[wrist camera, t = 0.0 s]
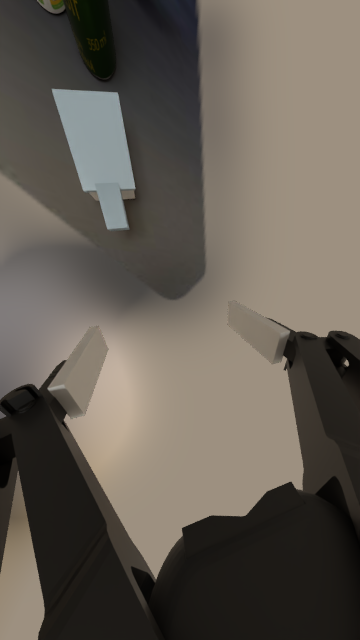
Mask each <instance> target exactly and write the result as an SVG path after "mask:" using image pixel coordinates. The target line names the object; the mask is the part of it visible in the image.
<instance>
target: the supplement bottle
mask: <svg viewBox="0 0 360 640" xmlns="http://www.w3.org/2000/svg"><path fill="white" fill-rule="evenodd" d="M37 1H38V2H39V4H40V5H41V6H42V7H43V8H45V9H46V10H47V11H49V12H51V13H55V14H58V13H61V12H63V11H64V9H65V6H64V3H63V0H37Z"/></svg>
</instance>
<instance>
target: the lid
mask: <svg viewBox="0 0 360 640" xmlns="http://www.w3.org/2000/svg"><path fill="white" fill-rule="evenodd" d="M52 92H53V95H54V99H55V102H56V105H57V108H58V111H59V114H60V118H61V121H62V124H63V127H64V130H65V134H66V137H67V140H68V143H69V146H70V150H71V153H72V156H73V159H74V162H75V165H76V169H77V172H78V175H79V178H80V181H81V185H82V188H83V191H84V192H85V193H86V192H97V194H98V197H99V201H100V205H101V208H102V212H103V215H104V219H105V222H106V226H107V229H108V230H110V231H120V230H130V229H129V224H128V220H127V215H126V211H125V206H124V202H123V197H122V193H121V191H129V190H136V189H135V184H134V178H133V173H132V167H131V162H130V156H129V151H128V146H127V140H126V135H125V129H124V124H123V119H122V113H121V108H120V102H119V97H118V93H116V92H98V91H80V90H62V89H52Z"/></svg>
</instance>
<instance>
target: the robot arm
mask: <svg viewBox="0 0 360 640" xmlns="http://www.w3.org/2000/svg"><path fill="white" fill-rule="evenodd" d="M227 324H228V325H229V326H230V327H231V328H232V329H233V330H234V331H236V333H238V334H239V335H240V336H241V337H242V338H243V339H244V340H245V341H247V342H248V343H249V344H250V345H251V346H252V347H253V348H255V349H256V350H257V351H258V352H259V353H260V354H261V355H263V356H264V357H265V358H266V359H267V360H268V361H269V362H270V363H271V364H275V363H279V362H281V361H282V357H283V356H285V357H286V358H287V361H286V364H285V367H284V370H286V369H287V370H288V377H289V382H290V388H291V394H292V400H293V405H294V412H295V418H296V424H297V430H298V435H299V442H300V447H301V454H302V459H303V467H304V473H303V491H302V490H298V489H296V488H295V487H294V485H293V484H292V482H289V483H286V484H284V485H282V486H279V487H277V488H275V489H272V490H270V491H268V492H266V493H265V494H264V496H263V497H262V498H261V499H260V500H259V501H258V502H257V504H256V505H255V506H254V507H253V508H252V510H251V511H250V512H249V513H248V514H247V515H246V516H242V517H240V516H209V517H207V518H204V519H202V520H200V521H197V522H195V523H193V524H190V525H188V526H186V527H183V528H182V532H183V536H182V537H181V538H180V539H179V540H178V541H177V542H176V544H175V545H174V547H173V548H172V549H171V551H170V552H169V554H168V556H167V558H166V560H165V561H164V563H163V565H162V567H161V570H160V572H159V574H158V577H157V579H155V577H154V575H153V574H152V572H151V570H150V569H149V567H148V565H147V563H146V561H145V560H144V558H143V557H142V555H141V553H140V552H139V550H138V549H137V548H136V546H135V545H134V543H133V542H132V540H131V539H130V537H129V536H128V534H127V532H126V530H125V528H124V526H123V525H122V523H121V521H120V519H119V517H118V516H117V514H116V512H115V510H114V509H113V507H112V505H111V503H110V501H109V500H108V498H107V496H106V494H105V492H104V491H103V489H102V487H101V485H100V484H99V482H98V480H97V478H96V476H95V475H94V473H93V471H92V469H91V467H90V466H89V464H88V462H87V460H86V458H85V457H84V455H83V453H82V451H81V449H80V448H79V446H78V444H77V442H76V441H75V439H74V437H73V435H72V433H71V432H70V430H69V428H68V426H67V425H66V423H65V422H64V418H65V416H66V414H68V415H69V417H70V418H71V419H73V418H77V417H80V416H84V415H85V413H86V411H87V407H88V405H89V402H90V399H91V397H92V394H93V391H94V388H95V385H96V383H97V380H98V377H99V374H100V371H101V368H102V366H103V363H104V360H105V357H106V354H107V351H108V347H107V345H106V342H105V340H104V337H103V335H102V333H101V330H100V328H99V326H95V327H90V328H89V329H88V331H87V332H86V334H85V335H84V337H83V338H82V340H81V341H80V342H79V344H78V345H77V346H76V348H75V349H74V351H73V352H72V354H71V355H70V356H69V358H68V359H67V360H64V361H62V362H61V363H60V364H59V365H58V366H56V368H55V369H54V370H53V372H52V373H51V374H50V376H49V377H48V379H47V380H46V381H45V382H44V384H43V385H42V386H41V388H40V389H39V390H38V389H37V388H36V387H35V386H34V385H33V384H27V385H24V386H21V387H18V388H16V389H14V390H13V391H11V392H10V393H8V394H7V395H5V396H4V397H3V398H2V399H1V400H0V411H1V412H2V413H4V414H5V415H6V417H4V418H2V419H0V572H1V566H2V560H3V554H4V548H5V543H6V537H7V531H8V525H9V519H10V513H11V507H12V501H13V496H14V490H15V483H16V478H17V472H18V470H19V475H20V481H21V486H22V491H23V496H24V501H25V506H26V511H27V517H28V522H29V527H30V532H31V537H32V543H33V548H34V553H35V558H36V562H37V568H38V573H39V579H40V584H41V589H42V594H43V599H44V607H45V615H44V620H43V623H42V625H41V628H40V631H39V636H38V640H360V340H359V339H358V338H357V337H355V336H353V335H351V334H348V333H347V332H343V331H330V332H329V334H328V336H327V337H318V336H316V335H314V334H312V333H309V332H295V331H293V330H291V329H289V328H287V327H286V326H284V325H281V324H280V323H277V322H276V321H274V320H272V319H269V318H266V317H264V316H262V315H260V314H258V313H257V312H255V311H253V310H251V309H249V308H247V307H246V306H244V305H242V304H240V303H238V302H237V301H230V302H229V303H228V319H227ZM346 359H347V360H348V362H349V366H348V367H347V366H346V365H345V364H344V362H345V361H346Z"/></svg>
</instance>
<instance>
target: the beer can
mask: <svg viewBox="0 0 360 640" xmlns="http://www.w3.org/2000/svg"><path fill="white" fill-rule="evenodd" d="M63 3H64V6H65V9H66V12H67V15H68V18H69V21H70V24H71V27H72V30H73V34H74V37H75V40H76V43H77V46H78V49H79V52H80V55H81V57H82V59H83V61H84V63H85V65H86V66H87V68H88V69H89V70H90V72H91V73H92V74H93V75H94V76H96V77H97V78H99V79H101V80H107V79H109V78H110V77H111V76H112V74H113V72H114V69H115V64H116V54H115V47H114V40H113V33H112V26H111V19H110V12H109V5H108V0H63Z"/></svg>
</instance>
